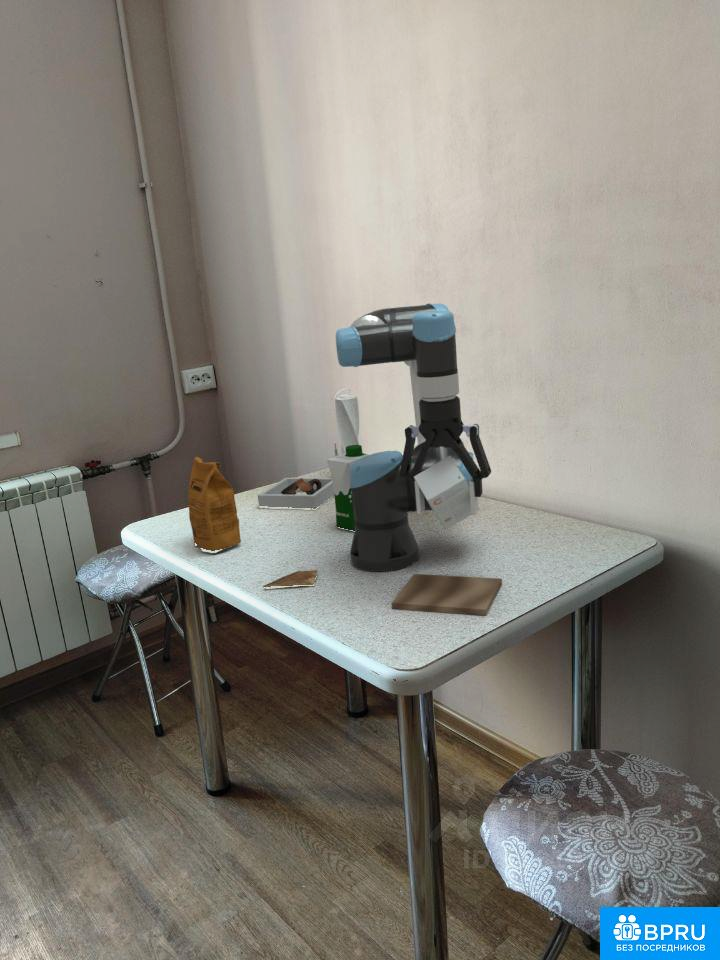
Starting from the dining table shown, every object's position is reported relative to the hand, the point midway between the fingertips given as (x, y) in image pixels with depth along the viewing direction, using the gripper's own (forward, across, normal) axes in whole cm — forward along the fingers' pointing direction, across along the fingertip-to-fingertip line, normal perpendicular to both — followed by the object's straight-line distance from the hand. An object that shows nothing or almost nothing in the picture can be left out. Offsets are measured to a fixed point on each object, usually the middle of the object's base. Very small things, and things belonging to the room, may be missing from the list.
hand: (447, 512), depth 150 cm
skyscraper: (+16, +51, -73) cm, 91 cm away
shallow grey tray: (+16, +59, -53) cm, 81 cm away
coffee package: (+16, +64, -16) cm, 68 cm away
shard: (+16, +33, +3) cm, 37 cm away
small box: (+1, 0, -6) cm, 6 cm away
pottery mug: (+16, +57, -51) cm, 78 cm away
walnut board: (+16, 0, +4) cm, 16 cm away
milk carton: (+16, +34, -33) cm, 50 cm away
